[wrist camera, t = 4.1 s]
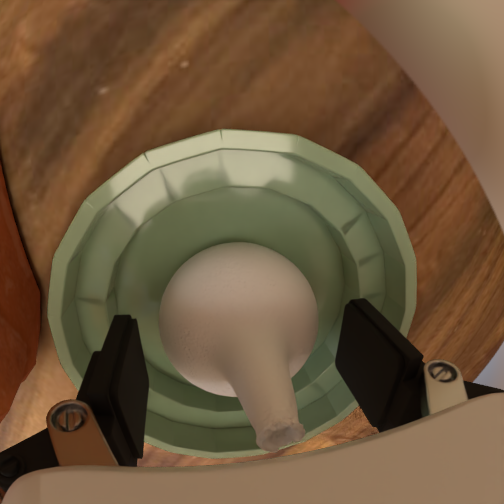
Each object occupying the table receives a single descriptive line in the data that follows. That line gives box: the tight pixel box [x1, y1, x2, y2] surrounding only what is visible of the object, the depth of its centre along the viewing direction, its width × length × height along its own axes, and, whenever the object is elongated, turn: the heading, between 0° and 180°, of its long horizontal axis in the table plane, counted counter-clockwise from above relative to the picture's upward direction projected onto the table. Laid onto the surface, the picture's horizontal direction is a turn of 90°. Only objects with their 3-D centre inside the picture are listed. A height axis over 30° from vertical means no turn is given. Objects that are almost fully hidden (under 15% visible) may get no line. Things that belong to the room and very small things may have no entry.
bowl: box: [47, 129, 417, 459], centre depth 13 cm, size 14×14×4 cm
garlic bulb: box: [158, 242, 319, 453], centre depth 10 cm, size 6×6×8 cm
